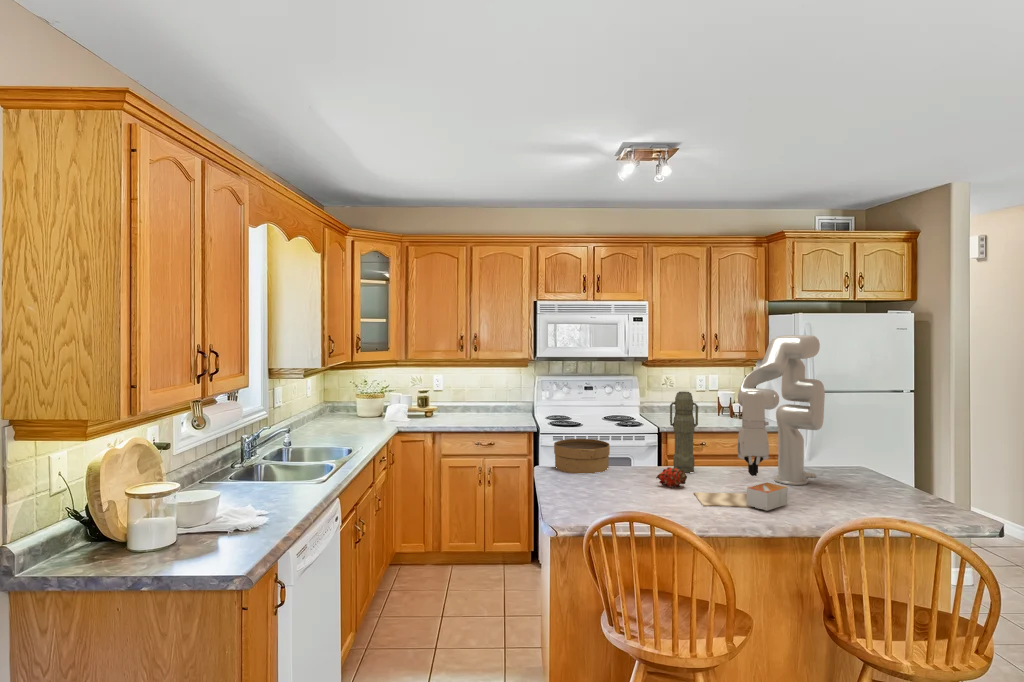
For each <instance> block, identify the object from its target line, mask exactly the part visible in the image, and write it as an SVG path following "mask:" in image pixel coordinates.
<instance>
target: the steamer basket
mask: <svg viewBox="0 0 1024 682" xmlns="http://www.w3.org/2000/svg"><path fill="white" fill-rule="evenodd" d="M610 448H611V447H610V443H609V442H607V441H604V440H599V439H592V438H591V439H589V438H568V439H562V440H561V439H560V440H557V441H555V442H554V443H553V451H554V452H553V453H554V466H555V467H557V469H556V470H557V471H560V472H564V473H569V474H577V473H592V474H596V473H595V472H600V473H603V471H604V472H606V471H605V470H607V468H609V467H610V466H609V465H610V464H609V463H610V460H609V456H610V453H611V452H610ZM555 467H554V468H555ZM607 471H608V470H607Z"/></svg>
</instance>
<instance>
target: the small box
mask: <svg viewBox="0 0 1024 682" xmlns="http://www.w3.org/2000/svg"><path fill="white" fill-rule="evenodd" d="M788 488H789V487H788V486H784V485H781V484H776V483H775V484H774V483H770V482H767V481H766V482H763V483H760V484H757V485H752V486H749V487H746V494H747V499H746V505H748V506H752V507H755V509H759V510H762V511H763V510H764V511H770V510H773V509H776V508H779V507H782V506H785V505H788Z"/></svg>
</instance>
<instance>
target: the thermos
mask: <svg viewBox="0 0 1024 682" xmlns="http://www.w3.org/2000/svg"><path fill="white" fill-rule="evenodd" d="M675 394H676V395H675V397H674V402H673V401H672V402H671V403H670V405H669V425H670V426H672V427H673V433H674V453H673V454H674V455H673V458H672V459H673V463H672V464H673V468H674V469H675V467H677V468H678V469H680V470H683V472H684V473H689V474H691V473H690V472H695V456H694V434H695V428H696V427H697V426H698V425H699V406H698V404H697V403H696V402H694V399H693V395H692V392H690V391H678V392H677V393H675ZM673 406H674V409H675V412H674V417H673ZM694 407H695V417H694V413H693V412H694Z"/></svg>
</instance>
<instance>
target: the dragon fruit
mask: <svg viewBox="0 0 1024 682" xmlns="http://www.w3.org/2000/svg"><path fill="white" fill-rule="evenodd" d="M687 478H688V476H687V474H685V473H684V472H683V470H680V469H678V468H677V467H675V469H674V467H669V466H668V467H667V468H665V469H663V471H662V472H660V473H659V474H657V476H656V477H655V479H658V480H659V481H658V483H659V484H661V486H664V487H669V488H670V489H673V488H674V487H675V488H680V486H681V485H685V484H686V480H687Z"/></svg>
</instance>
